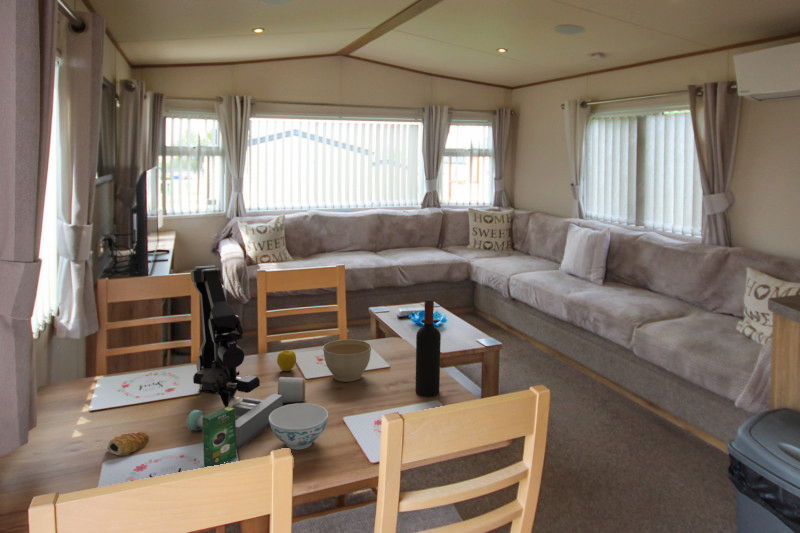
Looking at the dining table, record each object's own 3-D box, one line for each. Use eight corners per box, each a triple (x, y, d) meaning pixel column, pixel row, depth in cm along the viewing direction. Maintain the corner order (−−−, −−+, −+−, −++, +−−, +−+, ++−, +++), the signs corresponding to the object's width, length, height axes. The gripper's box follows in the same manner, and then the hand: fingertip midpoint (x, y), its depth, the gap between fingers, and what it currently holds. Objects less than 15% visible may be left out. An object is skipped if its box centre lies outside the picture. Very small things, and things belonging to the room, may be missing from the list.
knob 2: (228, 418, 160) (227, 401, 159) (239, 410, 165) (238, 394, 164) (255, 423, 157) (255, 405, 156) (266, 415, 162) (265, 398, 161)
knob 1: (187, 432, 152) (186, 414, 151) (200, 424, 156) (199, 406, 156) (215, 438, 149) (214, 419, 148) (227, 429, 154) (226, 411, 153)
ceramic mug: (305, 405, 170) (305, 381, 168) (277, 407, 168) (276, 382, 167) (305, 392, 180) (305, 368, 179) (279, 393, 179) (278, 370, 177)
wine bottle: (411, 394, 178) (413, 301, 173) (420, 386, 185) (421, 296, 180) (434, 398, 175) (436, 304, 170) (442, 389, 182) (444, 299, 177)
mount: (203, 441, 147) (202, 420, 146) (249, 409, 167) (248, 389, 166) (239, 449, 144) (238, 427, 143) (282, 414, 163) (282, 395, 162)
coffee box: (230, 453, 142) (227, 404, 139) (238, 457, 140) (235, 407, 138) (203, 468, 135) (200, 416, 132) (211, 471, 133) (208, 419, 131)
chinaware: (269, 432, 153) (268, 405, 151) (325, 427, 156) (325, 400, 155) (269, 461, 138) (268, 431, 137) (331, 454, 142) (331, 425, 140)
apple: (274, 373, 195) (274, 351, 193) (281, 366, 201) (281, 345, 199) (292, 374, 194) (292, 352, 192) (299, 368, 200) (298, 346, 198)
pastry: (139, 436, 150) (138, 423, 149) (155, 443, 147) (154, 430, 146) (105, 452, 142) (104, 437, 141) (121, 459, 139) (120, 445, 138)
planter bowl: (376, 370, 198) (376, 341, 196) (363, 388, 183) (363, 356, 181) (333, 366, 202) (332, 337, 200) (316, 383, 186) (315, 352, 184)
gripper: (178, 361, 156) (181, 414, 158) (236, 370, 150) (238, 425, 152) (204, 348, 166) (207, 399, 169) (260, 357, 160) (261, 409, 163)
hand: (227, 408), depth 163 cm, fingers closed
